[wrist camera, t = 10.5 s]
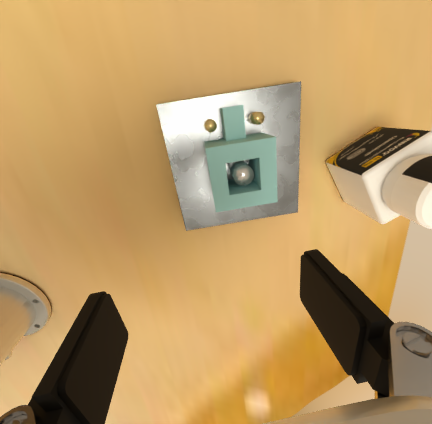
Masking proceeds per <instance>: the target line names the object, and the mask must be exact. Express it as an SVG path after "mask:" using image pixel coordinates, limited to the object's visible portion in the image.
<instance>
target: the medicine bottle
mask: <svg viewBox="0 0 432 424" xmlns="http://www.w3.org/2000/svg"><path fill="white" fill-rule="evenodd" d="M326 165H327V167H328V169H329V171H330V173H331V175H332V177H333V180H334V182H335V184H336V186H337V188H338V190H339V192H340V195H341V197H342V199H343V201H344V202H345V203H347V204H349V205H350V206H352V207H354V208H355V209H357V210H359V211H360V212H362V213H364V214H365V215H367V216H369V217H370V218H372V219H374V220H375V221H377V222H379V223H380V224H385V223H387V222H389V221H391V220H393V219H394V218H396V217H398V216H400V215H402V216H404V217H405V218H407V219H409V220H411V221H414V222H416V223H418V224H419V225H422V226H424V227H426V228H429V229H432V131H423V130H410V129H397V128H383V127H377V128H375V129H373V130H372V131H370V132H369V133H367V134H366V135H364V136H362V137H361V138H359V139H358V140H356V141H355V142H353V143H352V144H350V145H349V146H347V147H346V148H344V149H343V150H341V151H340V152H338V153H337V154H335V155H334V156H332V157H330V158H329V159H327V160H326Z"/></svg>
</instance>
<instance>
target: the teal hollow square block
mask: <svg viewBox="0 0 432 424" xmlns="http://www.w3.org/2000/svg"><path fill="white" fill-rule="evenodd" d="M220 114H221V122H222V130H223V138H224V139H218V140H211V141H205V142H204V145H205V151H206V157H207V163H208V169H209V175H210V181H211V187H212V194H213V199H214V205H215V210H216V212H221V211H227V210H233V209H239V208H245V207H251V206H257V205H263V204H269V203H275V202H278V199H277V157H276V137H275V136H272V135H268V134H265V133H262V132H260V133H254V134H248V135H246V132H245V119H244V107H243V105H238V106H232V107H226V108H220ZM248 159H249V166H250V167H251V168H252V170H253V172H254V178H253V180H252V181H251V183H249V184H248V185H244V186H243V185H239V184H237V183H236V182H235V180H234V179H232V180H227V172H226V164H225V163H230V162H236V161H242V160H248Z"/></svg>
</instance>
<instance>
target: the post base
mask: <svg viewBox="0 0 432 424" xmlns="http://www.w3.org/2000/svg"><path fill="white" fill-rule="evenodd" d="M238 105H243V107H244V119H245V132H246V135H248V134H254V133H260V132H262V133H265V134H268V135H272V136H275V137H276V157H277V199H278V202H275V203H269V204H263V205H257V206H251V207H245V208H239V209H233V210H227V211H221V212H216V210H215V205H214V199H213V194H212V187H211V181H210V175H209V169H208V163H207V157H206V151H205V145H204V142H205V141H211V140H218V139H224V138H223V130H222V122H221V114H220V108H226V107H232V106H238ZM156 106H157V110H158V115H159V119H160V123H161V127H162V131H163V136H164V140H165V144H166V148H167V152H168V157H169V161H170V165H171V169H172V173H173V178H174V182H175V186H176V190H177V194H178V198H179V203H180V207H181V211H182V215H183V219H184V224H185V228H186V231H187V230H193V229H199V228H205V227H211V226H217V225H223V224H229V223H235V222H241V221H247V220H253V219H259V218H266V217H272V216H278V215H284V214H290V213H296V212H298V184H299V145H300V106H301V82H294V83H288V84H282V85H276V86H269V87H263V88H257V89H251V90H244V91H238V92H232V93H226V94H219V95H213V96H207V97H201V98H194V99H188V100H182V101H175V102H169V103H163V104H157V105H156ZM225 164H226V172H227V180H232V179H234V180H235V182H236V183H237V184H239V185H243V186H244V185H248V184H249V183H251V181H252V180H253V178H254V172H253V170H252V168H251V167H250V166H249V159H248V160H242V161H236V162H230V163H225Z"/></svg>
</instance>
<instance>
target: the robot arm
mask: <svg viewBox="0 0 432 424" xmlns="http://www.w3.org/2000/svg"><path fill="white" fill-rule="evenodd" d="M300 298H301V301H302V303H303V305H304V306H305V308H306V310H307V311H308V313H309V314H310V316H311V318H312V319H313V321H314V322H315V324H316V326H317V327H318V329H319V330H320V332H321V334H322V335H323V337H324V339H325V340H326V342H327V343H328V345H329V347H330V348H331V350H332V351H333V353H334V355H335V356H336V358H337V359H338V361H339V363H340V364H341V366H342V367H343V369H344V371H345V372H346V373H347V374H348V375H352V377H353V378H354V380H355V381H356V383H357V384H358V383H363V382H367V381H368V383H369V384H370V386H371V387H372V389H373V390H375V399H372V400H367V401H362V402H358V403H353V404H348V405H343V406H338V407H334V408H329V409H324V410H321V411H316V412H312V413H307V414H303V415H299V416H294V417H290V418H286V419H281V420H277V421H273V422H268V423H264V424H432V332H431V331H429V330H427V329H425V328H424V327H422V326H419V325H416V324H414V323H409V322H398V323H393V322H392V321H391V320H390V319H389V318H388V317H387V316H386V315H385V314H384V313H383V312H382V311H381V310H380V309H379V308H378V307H377V306H376V305H375V304H374V303H373V302H372V301H371V300H370V299H369V298H368V297H367V296H366V295H365V294H364V293H363V292H362V291H361V290H360V289H359V288H358V287H357V286H356V285H355V284H354V283H353V282H352V281H351V280H350V279H349V278H348V277H347V276H346V275H344V274H342V273H341V272H340V271H339V270H338V269H337V268H336V267H335V266H334V265H333V264H332V263H331V262H330V261H329V260H328V259H327V258H326V257H325V256H324V255H323V254H322V253H321V252H320V251H318V250H317V249H315V250H310V251H305V252H304V255H302V256H301V272H300ZM50 315H51V306H50V303H49V301H48V299H47V297H46V296H45V295H44V294H43V293H42V291H40V290H39V289H38V288H37V287H36V286H34V285H33V284H31V283H29V282H28V281H25V280H23V279H21V278H19V277H16V276H12V275H9V274H3V273H0V365H1V364H2V362H3V361H4V360H6V359H8V358H10V357H11V355H12V350H13V348H14V347H15V346H16V345H17V343H18V342H19V341H20V340H21V338H22V337H23V336H26V335H31V334H33V333H35V332H37V331H39V330H40V329H42V328H43V327H44V325H45V324H46V323H47V321H48V320H49V318H50ZM127 341H128V331H127V329H126V327H125V325H124V323H123V321H122V319H121V316H120V314H119V312H118V310H117V308H116V306H115V304H114V302H113V300H112V298H111V296H110V294H107V293H106V292H98V293H93V294H90V295H89V297H88V298H87V300H86V302H85V304H84V306H83V307H82V309H81V311H80V313H79V314H78V316H77V318H76V320H75V321H74V323H73V325H72V327H71V329H70V330H69V332H68V334H67V336H66V337H65V339H64V341H63V343H62V344H61V346H60V348H59V350H58V352H57V353H56V355H55V357H54V359H53V360H52V362H51V364H50V366H49V367H48V369H47V371H46V373H45V375H44V376H43V378H42V380H41V382H40V383H39V385H38V387H37V389H36V390H35V392H34V394H33V396H32V399H31V400H30V402H29V404H28V405H21V406H18V407H16V408H13V409H11V410H10V411H8V412H7V413H5V414H4V415H2V416H1V417H0V424H105V421H106V417H107V413H108V410H109V406H110V402H111V399H112V395H113V392H114V388H115V384H116V381H117V377H118V373H119V370H120V366H121V363H122V359H123V355H124V352H125V348H126V344H127Z"/></svg>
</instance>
